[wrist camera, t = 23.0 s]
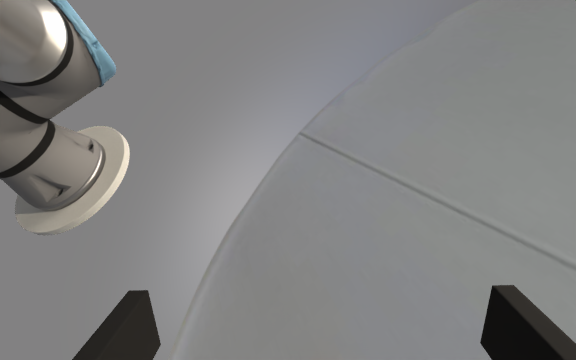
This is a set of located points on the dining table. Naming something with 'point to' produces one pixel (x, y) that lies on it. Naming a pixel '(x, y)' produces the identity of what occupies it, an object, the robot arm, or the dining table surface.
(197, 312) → the dining table surface
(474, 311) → the dining table surface
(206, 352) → the dining table surface
